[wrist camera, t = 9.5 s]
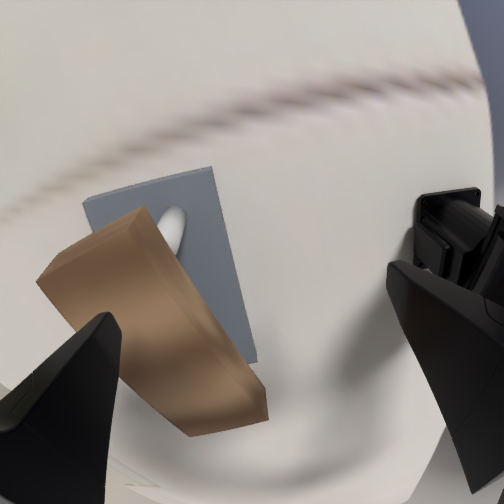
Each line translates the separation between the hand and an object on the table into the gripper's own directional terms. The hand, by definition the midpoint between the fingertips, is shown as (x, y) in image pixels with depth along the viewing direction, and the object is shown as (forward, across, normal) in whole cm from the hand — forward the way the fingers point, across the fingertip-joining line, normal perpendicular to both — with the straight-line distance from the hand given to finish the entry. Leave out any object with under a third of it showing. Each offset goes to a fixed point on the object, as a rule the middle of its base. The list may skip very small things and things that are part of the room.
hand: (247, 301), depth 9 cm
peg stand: (+12, +6, +7) cm, 15 cm away
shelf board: (+7, +6, +7) cm, 12 cm away
